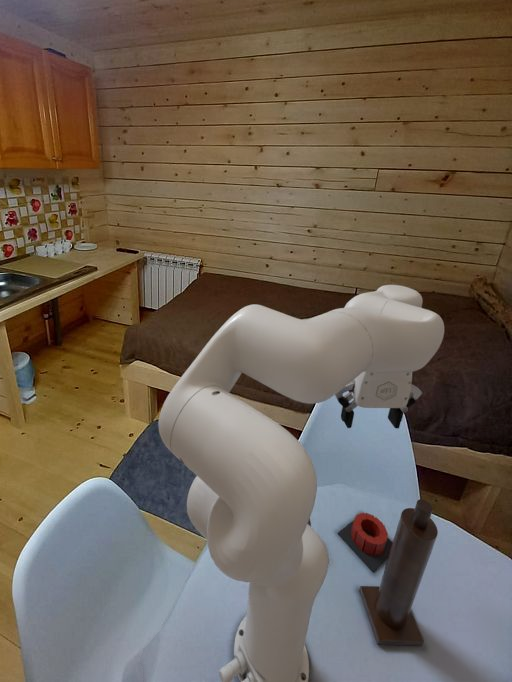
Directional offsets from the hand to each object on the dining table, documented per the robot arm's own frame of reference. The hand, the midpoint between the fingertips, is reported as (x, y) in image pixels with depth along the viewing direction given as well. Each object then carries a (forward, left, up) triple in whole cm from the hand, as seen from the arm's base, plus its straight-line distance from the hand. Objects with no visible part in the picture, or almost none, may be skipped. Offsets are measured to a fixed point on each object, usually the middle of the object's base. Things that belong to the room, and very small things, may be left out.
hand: (369, 423), depth 70 cm
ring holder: (-7, -15, -30) cm, 35 cm away
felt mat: (+1, -4, -30) cm, 31 cm away
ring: (+2, -4, -30) cm, 30 cm away
